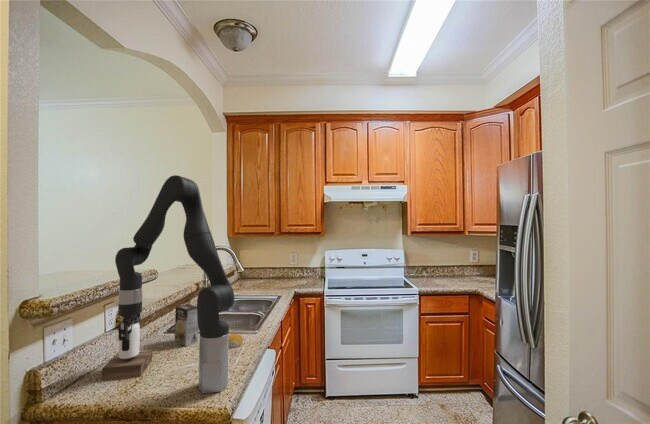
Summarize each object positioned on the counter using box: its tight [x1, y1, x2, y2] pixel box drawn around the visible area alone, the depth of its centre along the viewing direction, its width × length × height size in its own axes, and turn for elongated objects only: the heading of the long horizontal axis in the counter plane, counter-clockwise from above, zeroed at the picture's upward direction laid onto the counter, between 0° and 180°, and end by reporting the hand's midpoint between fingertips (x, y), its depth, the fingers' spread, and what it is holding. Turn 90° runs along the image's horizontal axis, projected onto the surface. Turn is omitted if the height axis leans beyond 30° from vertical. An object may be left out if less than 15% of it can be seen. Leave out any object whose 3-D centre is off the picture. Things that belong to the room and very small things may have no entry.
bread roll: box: [228, 333, 244, 349], centre depth 139 cm, size 8×9×4 cm
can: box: [118, 321, 141, 359], centre depth 114 cm, size 6×6×12 cm
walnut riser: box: [101, 350, 153, 381], centre depth 114 cm, size 12×12×4 cm
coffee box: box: [174, 303, 199, 347], centre depth 141 cm, size 9×6×16 cm
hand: (129, 346), depth 114 cm, fingers closed on can, 6 cm apart
